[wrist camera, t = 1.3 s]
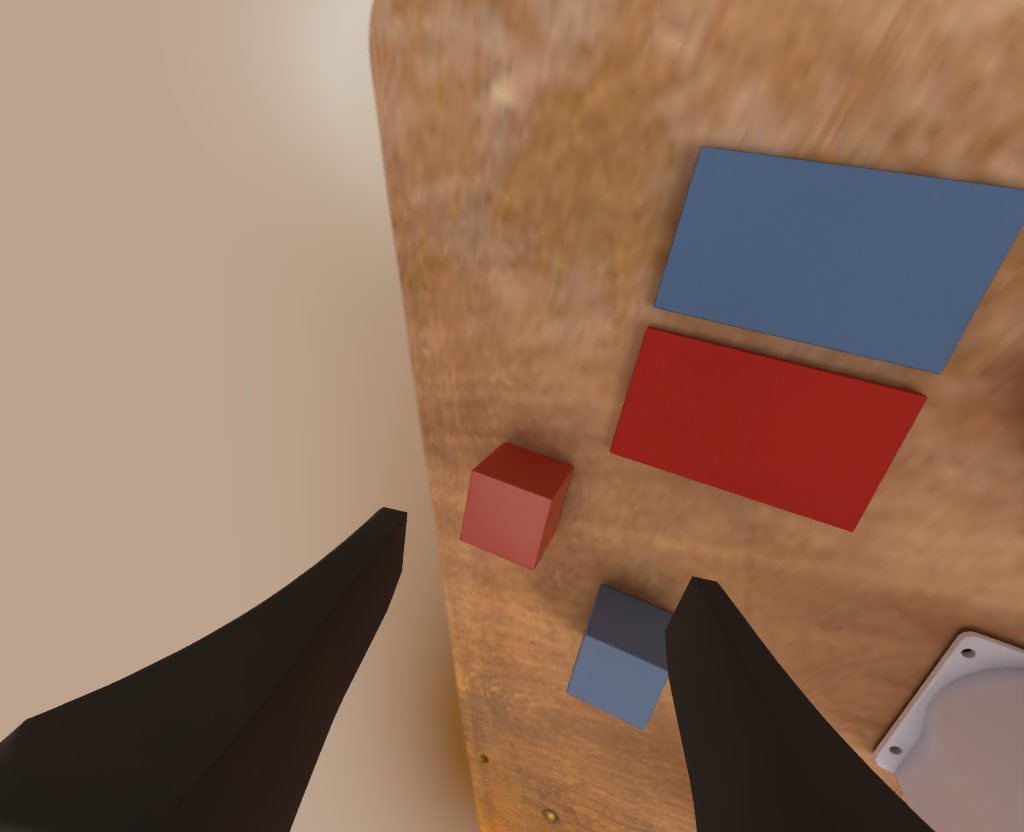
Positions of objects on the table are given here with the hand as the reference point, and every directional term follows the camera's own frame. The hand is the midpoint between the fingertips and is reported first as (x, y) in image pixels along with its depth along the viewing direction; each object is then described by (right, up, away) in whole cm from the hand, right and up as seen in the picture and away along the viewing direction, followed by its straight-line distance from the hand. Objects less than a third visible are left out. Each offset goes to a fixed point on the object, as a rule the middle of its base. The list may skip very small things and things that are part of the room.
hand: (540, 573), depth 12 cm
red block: (0, 0, +17) cm, 17 cm away
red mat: (+11, +3, +11) cm, 16 cm away
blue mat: (+13, +11, +8) cm, 19 cm away
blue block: (+6, -9, +17) cm, 21 cm away
